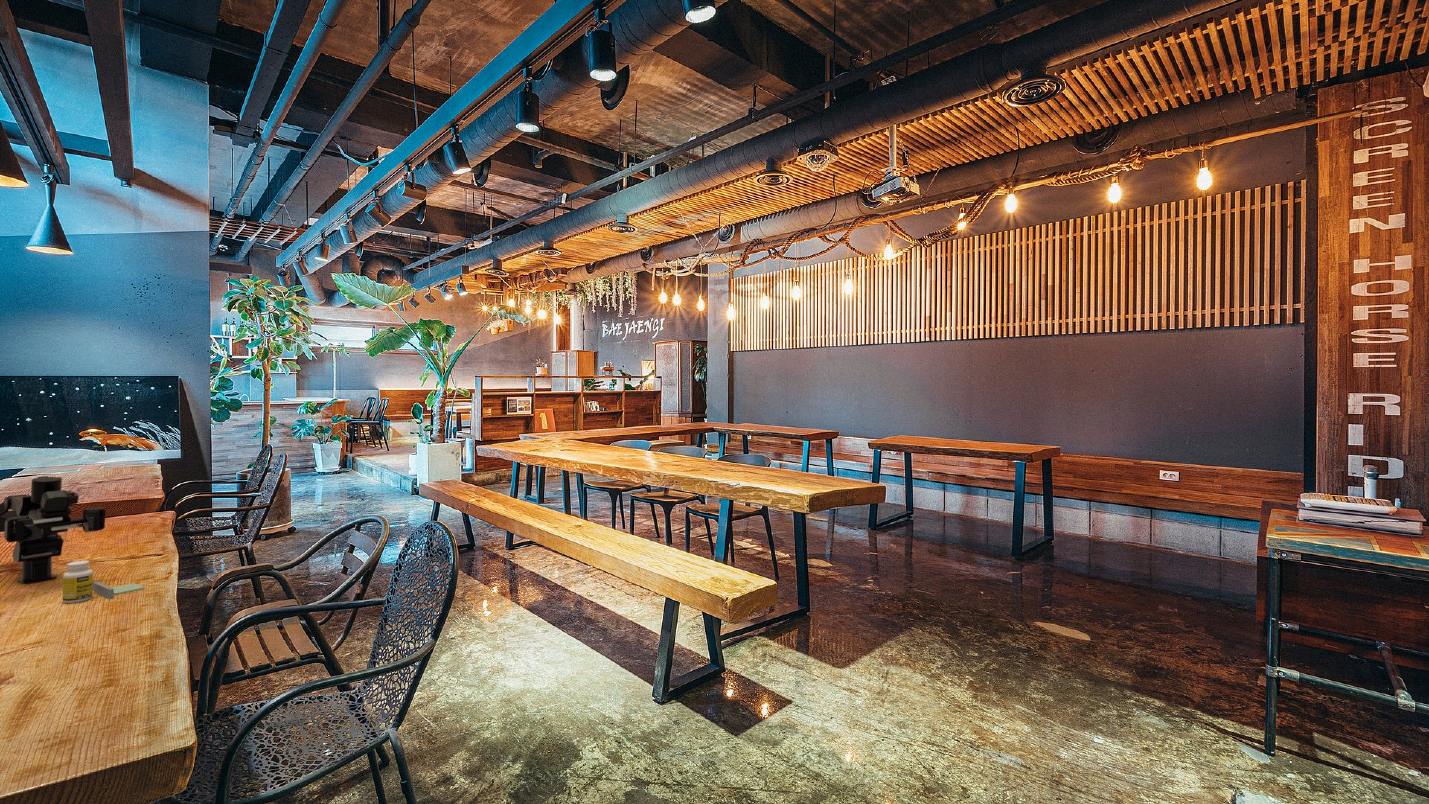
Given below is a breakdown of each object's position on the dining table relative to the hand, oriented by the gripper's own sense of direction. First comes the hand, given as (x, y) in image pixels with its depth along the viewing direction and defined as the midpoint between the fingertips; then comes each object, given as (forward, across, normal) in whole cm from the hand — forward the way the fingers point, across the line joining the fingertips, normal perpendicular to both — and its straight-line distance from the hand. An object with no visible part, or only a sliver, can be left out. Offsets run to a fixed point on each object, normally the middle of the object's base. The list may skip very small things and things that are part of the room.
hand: (67, 532), depth 163 cm
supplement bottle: (+10, 0, +15) cm, 19 cm away
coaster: (+9, +10, +15) cm, 20 cm away
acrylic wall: (+10, +5, +15) cm, 19 cm away
